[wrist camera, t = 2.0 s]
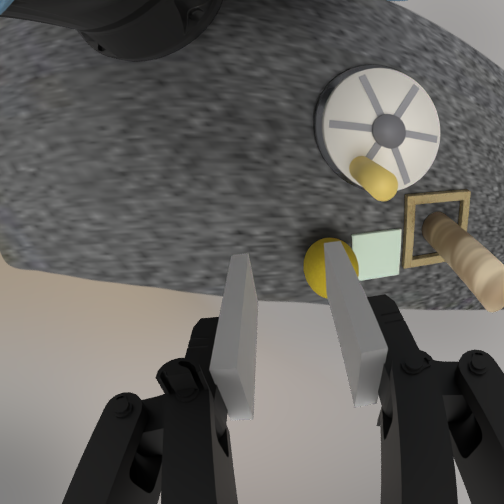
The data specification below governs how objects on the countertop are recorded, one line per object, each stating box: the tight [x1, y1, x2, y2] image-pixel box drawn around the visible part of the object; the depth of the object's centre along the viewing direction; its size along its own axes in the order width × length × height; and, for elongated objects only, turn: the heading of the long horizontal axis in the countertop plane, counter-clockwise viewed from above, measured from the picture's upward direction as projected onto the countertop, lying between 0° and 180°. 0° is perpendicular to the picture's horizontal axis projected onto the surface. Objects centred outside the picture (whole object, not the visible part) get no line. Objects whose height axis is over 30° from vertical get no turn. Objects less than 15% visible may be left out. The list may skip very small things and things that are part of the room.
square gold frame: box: [402, 189, 471, 269], centre depth 32 cm, size 9×9×1 cm
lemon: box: [304, 238, 359, 298], centre depth 30 cm, size 6×6×8 cm
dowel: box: [422, 212, 504, 312], centre depth 26 cm, size 4×4×14 cm
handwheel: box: [322, 68, 440, 201], centre depth 23 cm, size 12×12×8 cm
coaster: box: [351, 228, 401, 281], centre depth 34 cm, size 6×6×1 cm
